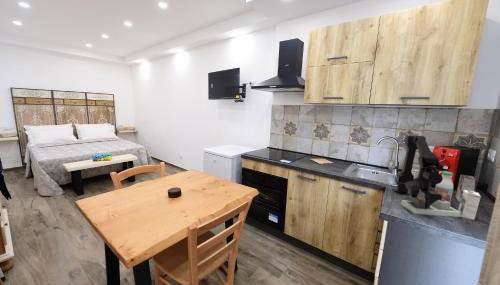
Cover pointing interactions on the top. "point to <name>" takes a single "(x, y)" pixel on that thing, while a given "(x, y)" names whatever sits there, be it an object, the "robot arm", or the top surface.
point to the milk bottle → (445, 186)
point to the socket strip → (431, 210)
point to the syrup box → (469, 204)
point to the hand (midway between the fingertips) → (419, 204)
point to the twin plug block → (441, 205)
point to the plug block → (418, 202)
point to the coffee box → (466, 185)
